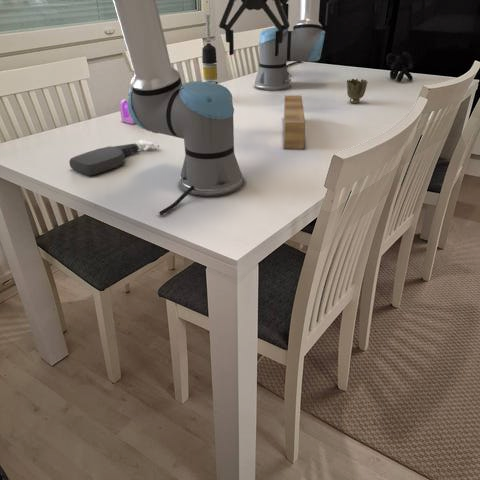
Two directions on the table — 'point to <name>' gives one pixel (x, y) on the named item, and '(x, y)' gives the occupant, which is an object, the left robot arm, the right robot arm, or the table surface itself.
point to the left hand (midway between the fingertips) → (254, 54)
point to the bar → (294, 122)
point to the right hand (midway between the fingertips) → (306, 25)
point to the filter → (209, 57)
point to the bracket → (125, 112)
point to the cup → (356, 89)
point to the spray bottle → (106, 157)
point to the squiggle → (399, 66)
